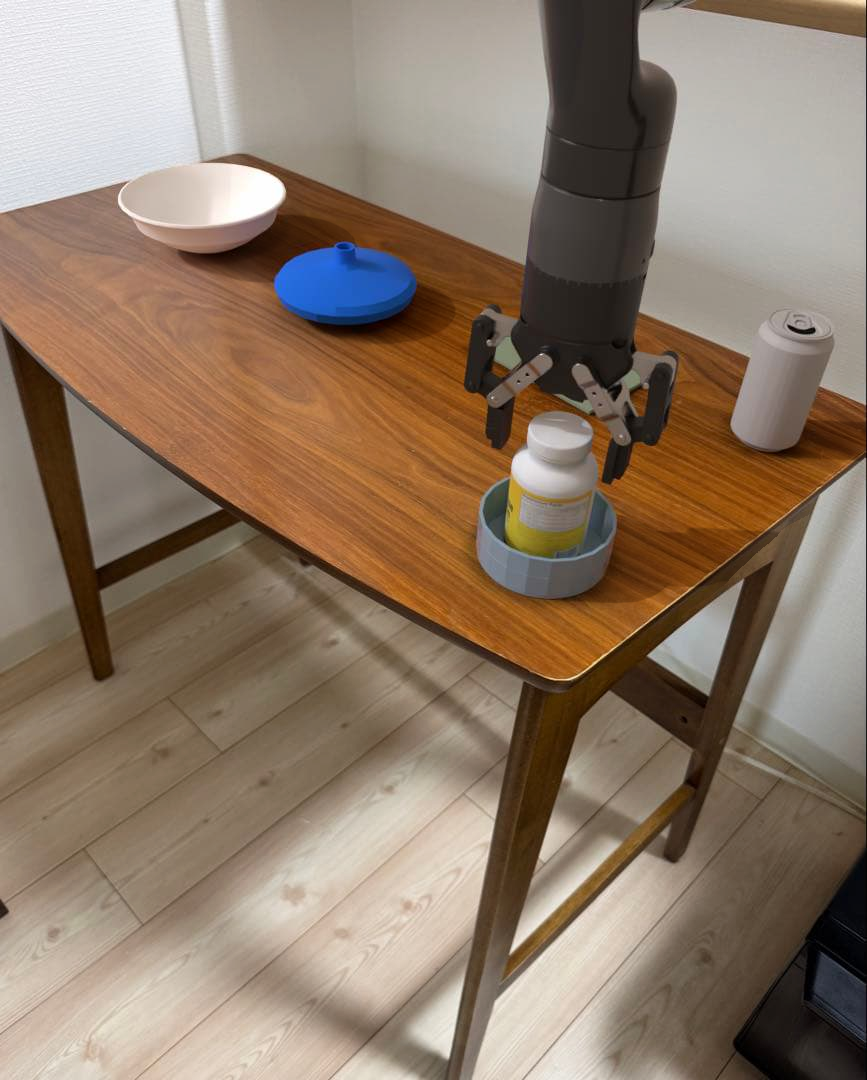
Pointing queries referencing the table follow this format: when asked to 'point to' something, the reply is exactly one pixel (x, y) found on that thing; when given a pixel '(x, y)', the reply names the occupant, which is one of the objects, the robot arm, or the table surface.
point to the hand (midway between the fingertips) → (554, 460)
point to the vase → (345, 285)
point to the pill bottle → (552, 488)
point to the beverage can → (782, 378)
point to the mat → (510, 359)
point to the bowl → (203, 205)
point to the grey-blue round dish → (540, 572)
